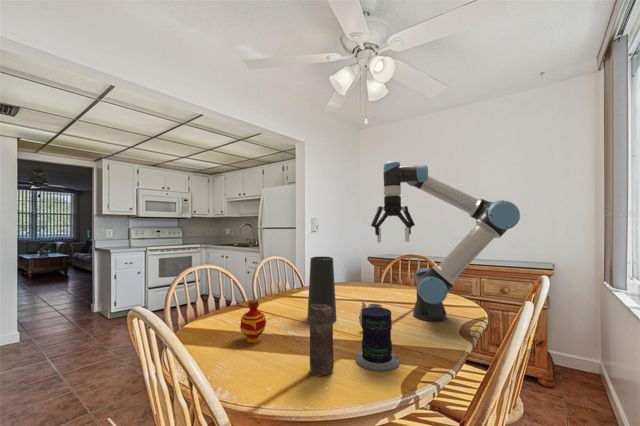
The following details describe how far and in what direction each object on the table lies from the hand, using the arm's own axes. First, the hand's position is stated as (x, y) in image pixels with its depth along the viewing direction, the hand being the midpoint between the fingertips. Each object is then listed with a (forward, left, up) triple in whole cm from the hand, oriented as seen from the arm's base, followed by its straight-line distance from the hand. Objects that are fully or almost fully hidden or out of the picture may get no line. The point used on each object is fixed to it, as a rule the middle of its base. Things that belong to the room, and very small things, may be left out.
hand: (393, 242), depth 140 cm
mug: (+13, +7, -37) cm, 40 cm away
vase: (+32, -9, -37) cm, 49 cm away
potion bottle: (+62, +12, -37) cm, 73 cm away
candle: (+39, +40, -37) cm, 67 cm away
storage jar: (+20, +36, -35) cm, 54 cm away
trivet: (+20, +36, -37) cm, 55 cm away
